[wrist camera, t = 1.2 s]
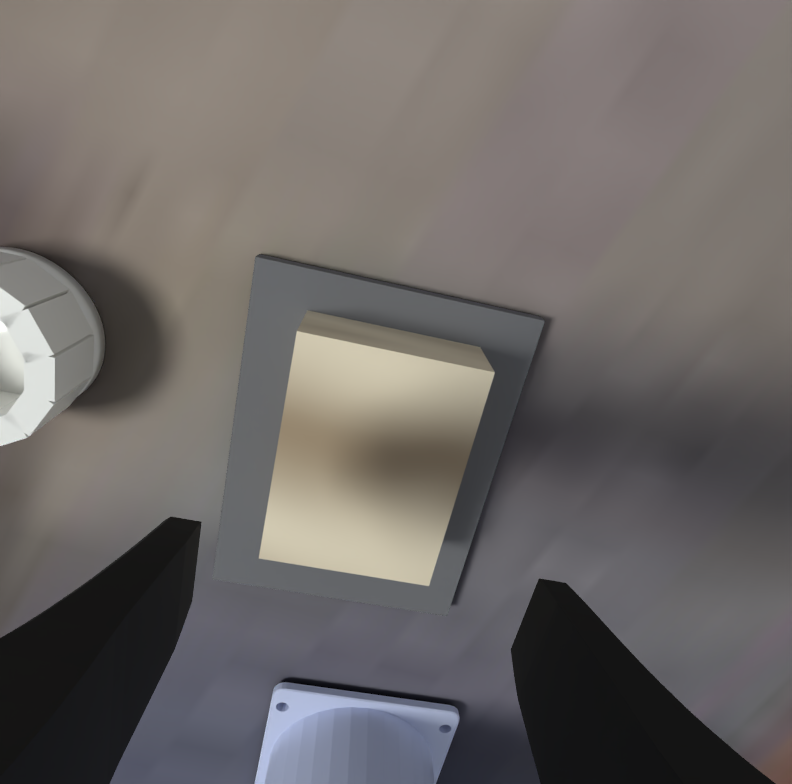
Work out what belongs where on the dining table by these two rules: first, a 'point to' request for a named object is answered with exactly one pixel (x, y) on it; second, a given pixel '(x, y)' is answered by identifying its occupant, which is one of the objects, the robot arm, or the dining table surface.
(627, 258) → the dining table surface
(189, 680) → the dining table surface
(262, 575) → the mat
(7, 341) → the bowl
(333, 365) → the block
